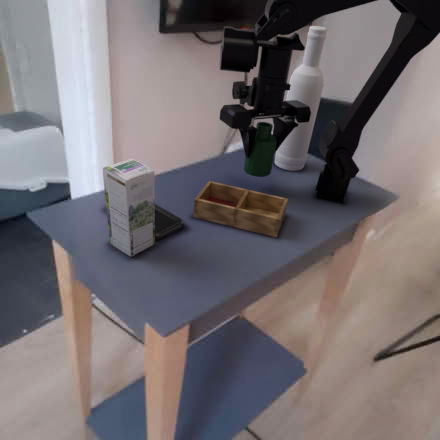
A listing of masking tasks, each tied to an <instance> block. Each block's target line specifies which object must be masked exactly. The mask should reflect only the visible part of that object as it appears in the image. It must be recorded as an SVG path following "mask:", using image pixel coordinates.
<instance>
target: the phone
mask: <svg viewBox="0 0 440 440" xmlns="http://www.w3.org/2000/svg"><path fill="white" fill-rule="evenodd" d="M183 228H184V220H183V219H182V218H181V217H179V216H177V215H175V214H173V213H172V212H170V211H168V210H167V209H165V208H163V207H162V206H160V205H158V204H156V203H155V241H161V240H162V239H165V238H166V237H168V236H170V235H172V234H174V233H176V232H178V231H180V230H182V229H183Z"/></svg>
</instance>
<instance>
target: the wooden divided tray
mask: <svg viewBox="0 0 440 440" xmlns="http://www.w3.org/2000/svg"><path fill="white" fill-rule="evenodd" d="M288 202H289V198H286V197H282V196H278V195H274V194H269V193H265V192H261V191H256V190H250V189H248V188H247V189H246V188H242V187H239V186H234V185H229V184H225V183H221V182H217V181H212V180H208V181H207V183H206V184H205V185H204V186H203V188H202V189H201V191H200V192H198V194H197V195H196V197H195V198H194V204H193V218H195V219H198V220H204V221H206V222H207V221H208V222H212V223H214V224H215V223H216V224H219V225H223V226H228V227H232V228H236V229H240V230H244V231H248V232H253V233H256V234H262V235H265V236H268V237H273V238H278V234H279V232H280V229H281V226H282V224H283V221H284V218H285V216H286V215H285V214H286V211H287V207H288Z"/></svg>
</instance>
